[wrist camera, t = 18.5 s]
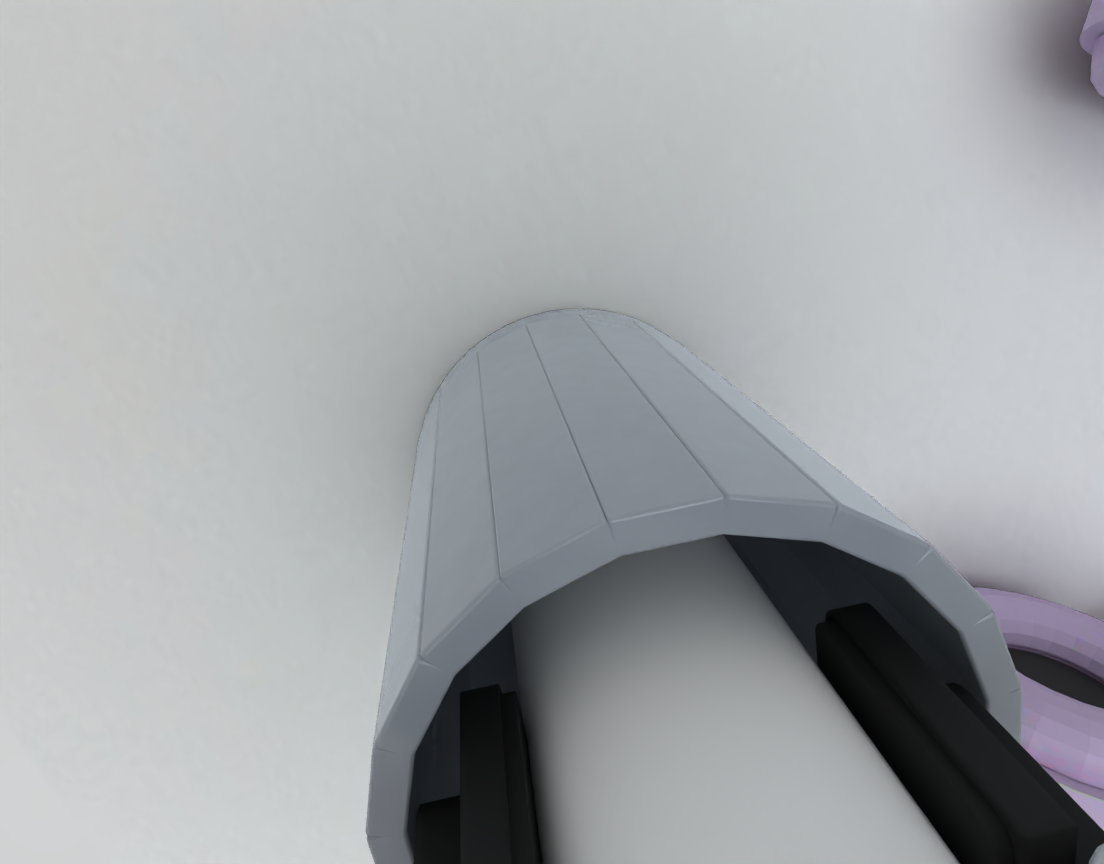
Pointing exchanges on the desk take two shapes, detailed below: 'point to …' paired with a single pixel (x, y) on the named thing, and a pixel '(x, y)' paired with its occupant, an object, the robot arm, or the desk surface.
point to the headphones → (1061, 637)
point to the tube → (697, 727)
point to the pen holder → (624, 530)
